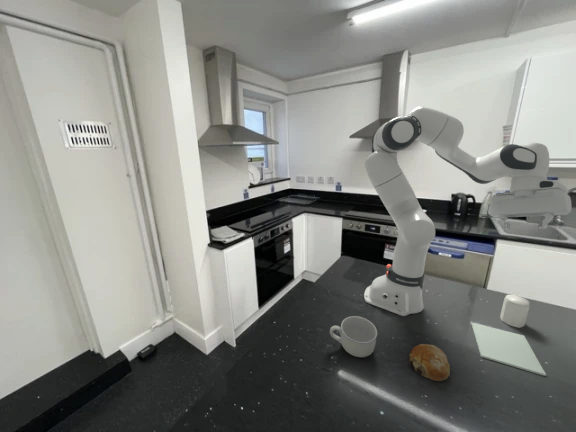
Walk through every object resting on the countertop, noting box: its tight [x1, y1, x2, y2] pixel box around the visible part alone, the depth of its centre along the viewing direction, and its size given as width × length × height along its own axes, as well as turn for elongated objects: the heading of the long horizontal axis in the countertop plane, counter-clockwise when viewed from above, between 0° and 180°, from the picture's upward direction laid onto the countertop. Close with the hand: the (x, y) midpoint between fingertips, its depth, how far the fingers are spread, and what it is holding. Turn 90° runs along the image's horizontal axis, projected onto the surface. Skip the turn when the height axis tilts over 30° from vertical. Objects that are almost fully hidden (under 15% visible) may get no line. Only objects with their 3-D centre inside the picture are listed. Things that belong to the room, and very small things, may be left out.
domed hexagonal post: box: [499, 294, 531, 329], centre depth 85 cm, size 6×6×9 cm
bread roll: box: [408, 343, 451, 382], centre depth 68 cm, size 10×10×8 cm
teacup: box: [329, 315, 378, 358], centre depth 75 cm, size 14×11×8 cm
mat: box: [471, 322, 547, 377], centre depth 75 cm, size 14×16×1 cm
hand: (523, 228), depth 79 cm, fingers open, 8 cm apart
